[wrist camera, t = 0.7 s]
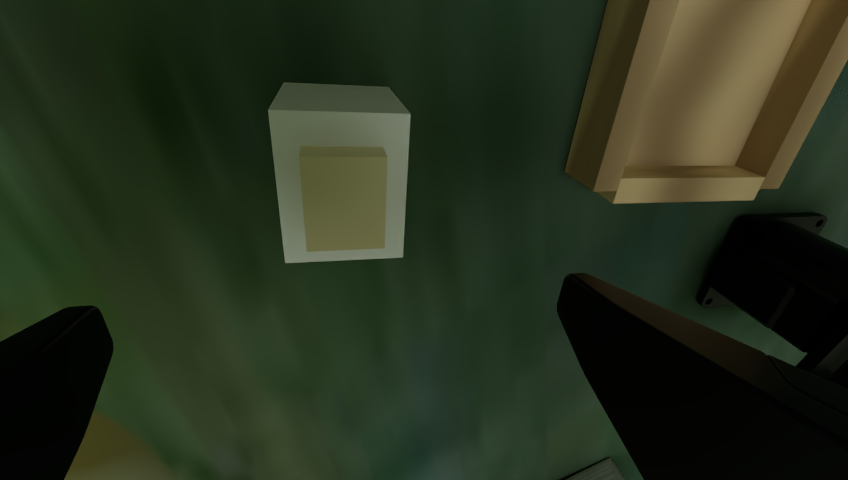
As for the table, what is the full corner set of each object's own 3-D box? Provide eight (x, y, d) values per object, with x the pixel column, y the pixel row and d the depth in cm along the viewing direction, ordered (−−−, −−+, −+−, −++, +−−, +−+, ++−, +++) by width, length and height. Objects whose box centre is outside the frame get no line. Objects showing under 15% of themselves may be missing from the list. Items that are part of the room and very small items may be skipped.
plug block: (388, 86, 16) (417, 122, 11) (385, 200, 19) (407, 273, 13) (283, 82, 15) (263, 118, 10) (294, 202, 18) (282, 280, 13)
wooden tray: (850, -76, 17) (925, -88, 15) (730, 181, 22) (772, 199, 20) (636, -113, 15) (689, -134, 12) (561, 183, 20) (589, 204, 18)
